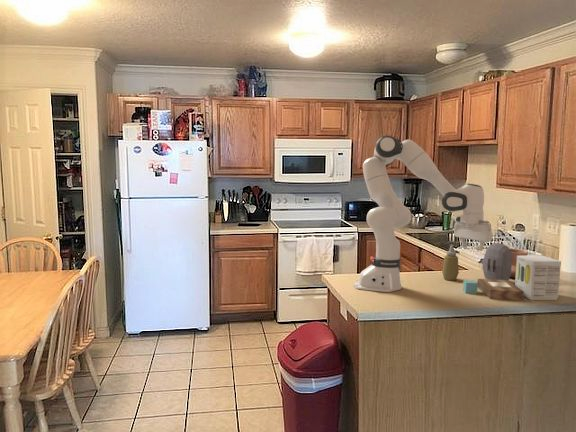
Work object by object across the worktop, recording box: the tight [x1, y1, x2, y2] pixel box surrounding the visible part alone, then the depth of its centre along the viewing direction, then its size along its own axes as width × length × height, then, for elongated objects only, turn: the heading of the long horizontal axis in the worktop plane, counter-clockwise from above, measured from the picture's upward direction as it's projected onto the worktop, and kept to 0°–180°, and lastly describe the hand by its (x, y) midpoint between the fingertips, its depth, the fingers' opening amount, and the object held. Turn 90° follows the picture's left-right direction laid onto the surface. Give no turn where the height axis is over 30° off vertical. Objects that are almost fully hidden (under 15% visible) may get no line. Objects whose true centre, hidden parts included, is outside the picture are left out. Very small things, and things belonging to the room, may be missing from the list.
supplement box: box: [514, 255, 562, 301], centre depth 213 cm, size 13×13×18 cm
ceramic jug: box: [509, 248, 529, 279], centre depth 250 cm, size 18×14×14 cm
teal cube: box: [462, 279, 478, 295], centre depth 219 cm, size 5×5×5 cm
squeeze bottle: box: [441, 244, 460, 281], centre depth 241 cm, size 8×8×18 cm
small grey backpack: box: [482, 242, 512, 281], centre depth 238 cm, size 15×8×20 cm, turn 27°
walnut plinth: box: [477, 278, 524, 301], centre depth 217 cm, size 14×20×4 cm
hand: (472, 249), depth 217 cm, fingers open, 8 cm apart
